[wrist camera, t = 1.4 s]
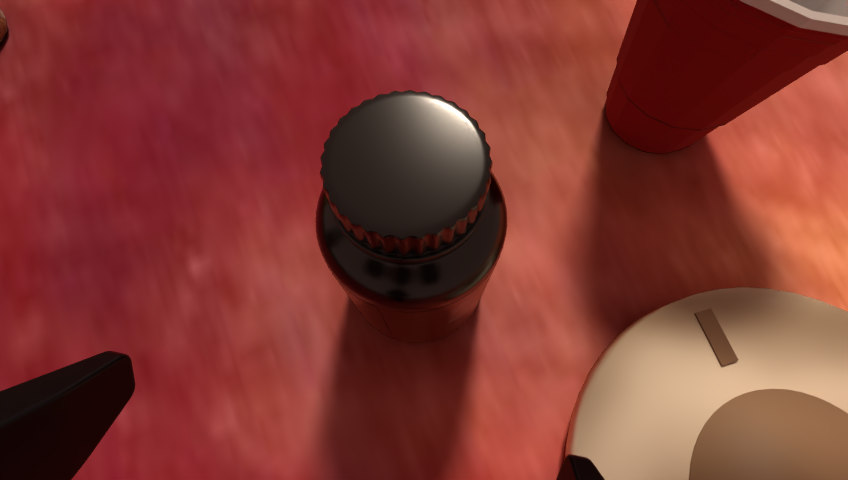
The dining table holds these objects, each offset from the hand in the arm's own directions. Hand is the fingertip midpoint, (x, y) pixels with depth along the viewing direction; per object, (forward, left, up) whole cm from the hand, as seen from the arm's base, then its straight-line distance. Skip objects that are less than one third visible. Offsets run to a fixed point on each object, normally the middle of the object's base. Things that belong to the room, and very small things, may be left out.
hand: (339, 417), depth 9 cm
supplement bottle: (+6, -3, -13) cm, 15 cm away
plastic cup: (+12, -20, -13) cm, 27 cm away
